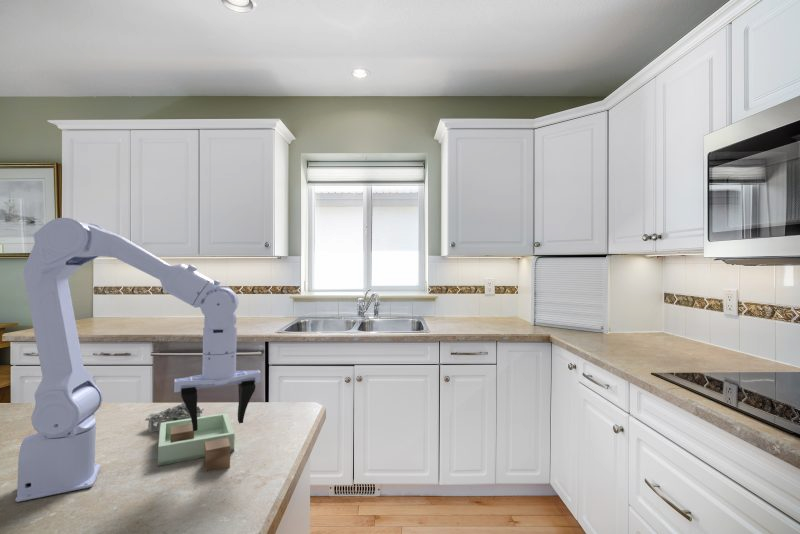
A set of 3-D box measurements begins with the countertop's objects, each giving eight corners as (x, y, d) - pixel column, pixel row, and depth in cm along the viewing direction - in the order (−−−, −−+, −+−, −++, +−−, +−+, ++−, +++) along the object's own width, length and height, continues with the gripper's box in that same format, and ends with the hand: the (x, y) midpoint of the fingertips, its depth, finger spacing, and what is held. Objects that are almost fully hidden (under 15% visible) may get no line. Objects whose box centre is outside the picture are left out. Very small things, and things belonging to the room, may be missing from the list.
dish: (157, 466, 72) (158, 446, 72) (160, 439, 83) (160, 422, 83) (234, 451, 78) (234, 433, 78) (226, 428, 90) (227, 412, 90)
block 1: (169, 455, 75) (170, 434, 75) (170, 447, 78) (171, 426, 78) (193, 451, 77) (194, 430, 77) (193, 443, 80) (193, 423, 80)
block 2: (205, 473, 70) (206, 450, 70) (204, 463, 73) (204, 441, 74) (229, 467, 72) (230, 445, 72) (227, 458, 75) (227, 437, 76)
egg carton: (163, 437, 85) (164, 418, 85) (141, 431, 88) (142, 413, 88) (206, 420, 95) (206, 403, 95) (185, 415, 98) (185, 399, 98)
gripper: (174, 359, 66) (173, 441, 66) (264, 352, 73) (263, 425, 73) (175, 352, 72) (173, 426, 72) (257, 345, 79) (256, 413, 79)
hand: (218, 425), depth 73 cm, fingers open, 7 cm apart
